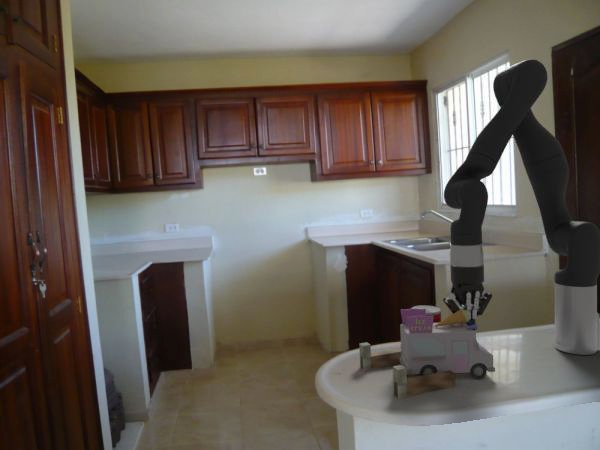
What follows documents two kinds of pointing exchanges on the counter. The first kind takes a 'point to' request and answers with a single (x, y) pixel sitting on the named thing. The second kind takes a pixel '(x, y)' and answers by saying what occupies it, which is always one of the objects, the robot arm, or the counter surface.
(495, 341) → the counter surface
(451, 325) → the toy vehicle
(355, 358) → the counter surface
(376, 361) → the wooden rails pair
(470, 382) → the counter surface
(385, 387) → the counter surface
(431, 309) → the canned food
